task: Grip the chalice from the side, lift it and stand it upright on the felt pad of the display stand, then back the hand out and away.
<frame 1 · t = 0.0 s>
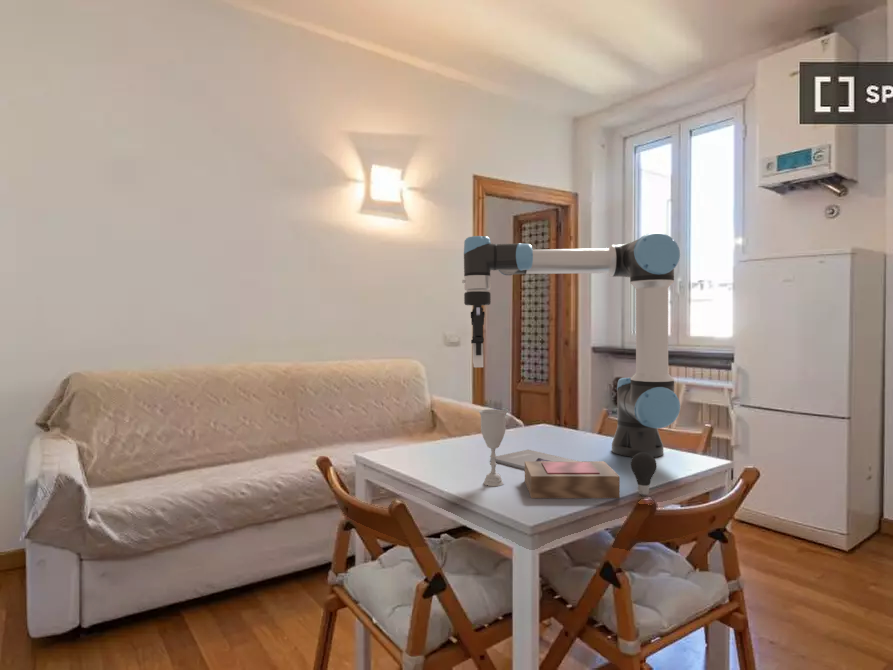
hand: (477, 365, 160), 28 cm above the table, tool pointing down, fingers open, 13 cm apart
display stand: (569, 489, 134), on the table
play button award: (535, 465, 160), on the table
light bulb: (643, 496, 129), on the table
chalice: (493, 484, 140), on the table
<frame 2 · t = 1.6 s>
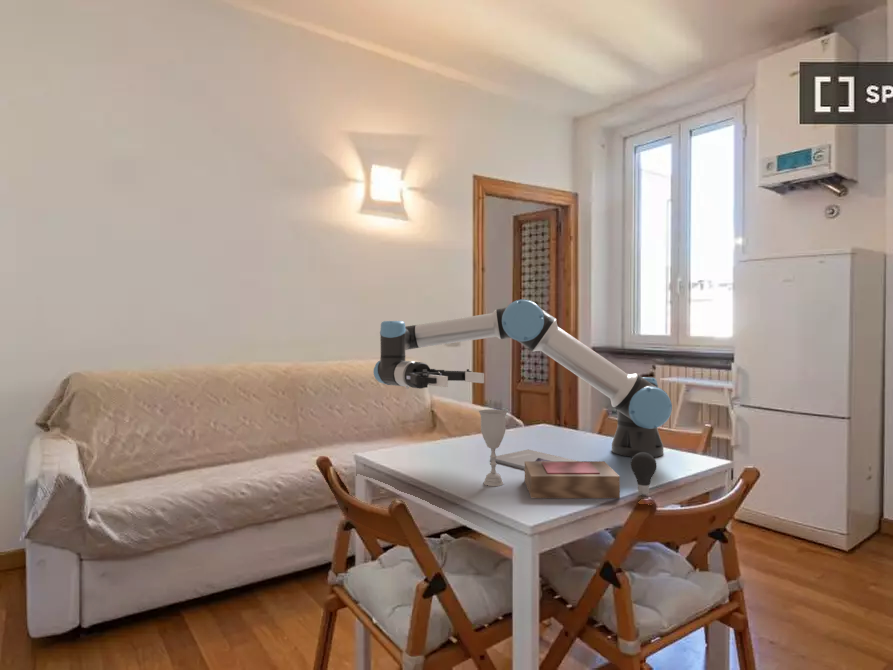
hand: (465, 379, 146), 25 cm above the table, tool horizontal, fingers open, 13 cm apart
nothing on the table moved.
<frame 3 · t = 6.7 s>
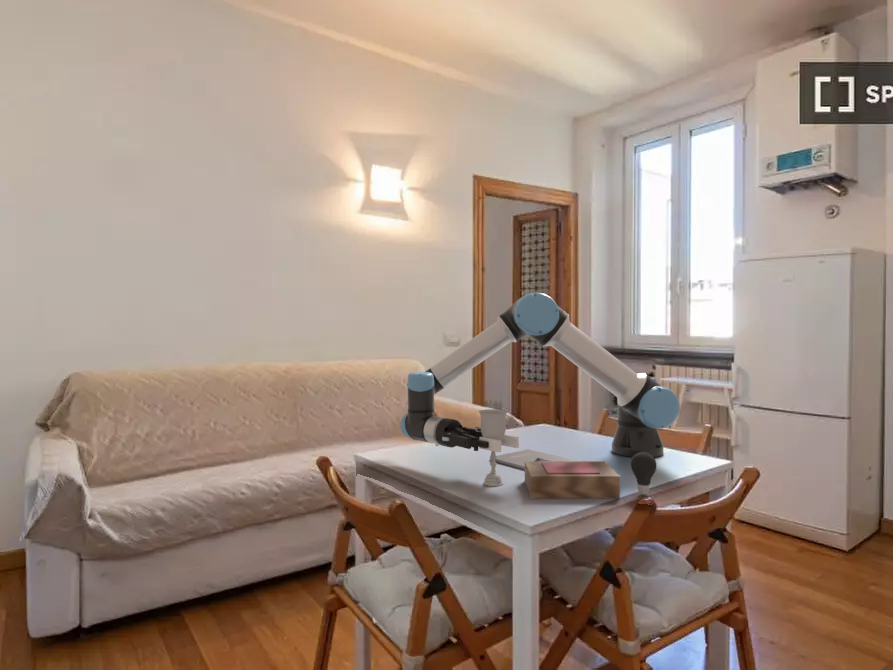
hand: (508, 444, 136), 11 cm above the table, tool horizontal, fingers closed on chalice, 6 cm apart
chalice: (493, 484, 140), on the table, touching gripper
everything else where it was.
when the fingers open (17 cm above the table, at t = 11.4 s): chalice drops 2 cm, resting on display stand.
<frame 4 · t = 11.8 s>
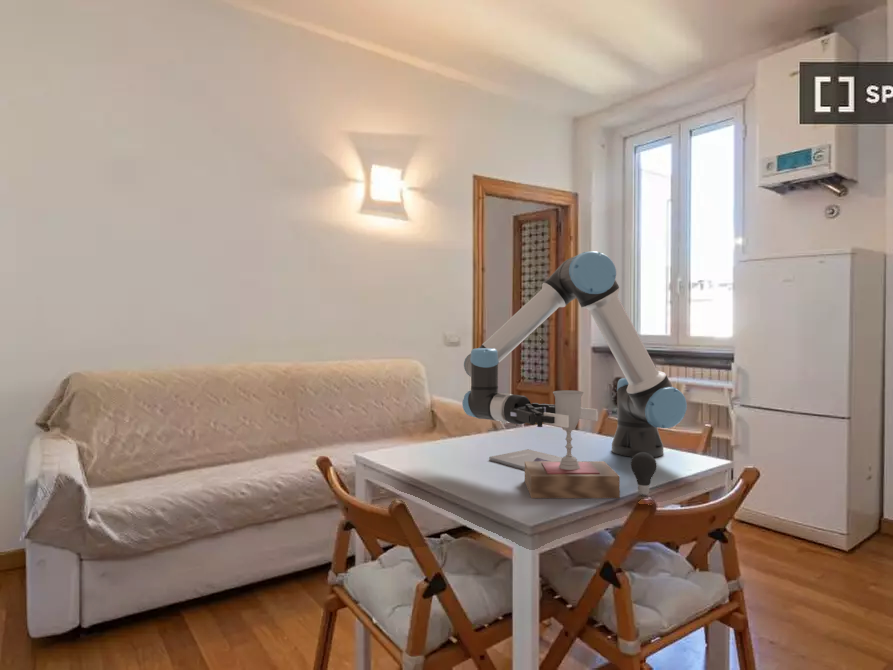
hand: (583, 418, 131), 17 cm above the table, tool horizontal, fingers open, 11 cm apart
chalice: (569, 467, 134), point 5 cm above the table, touching display stand
everything else where it was.
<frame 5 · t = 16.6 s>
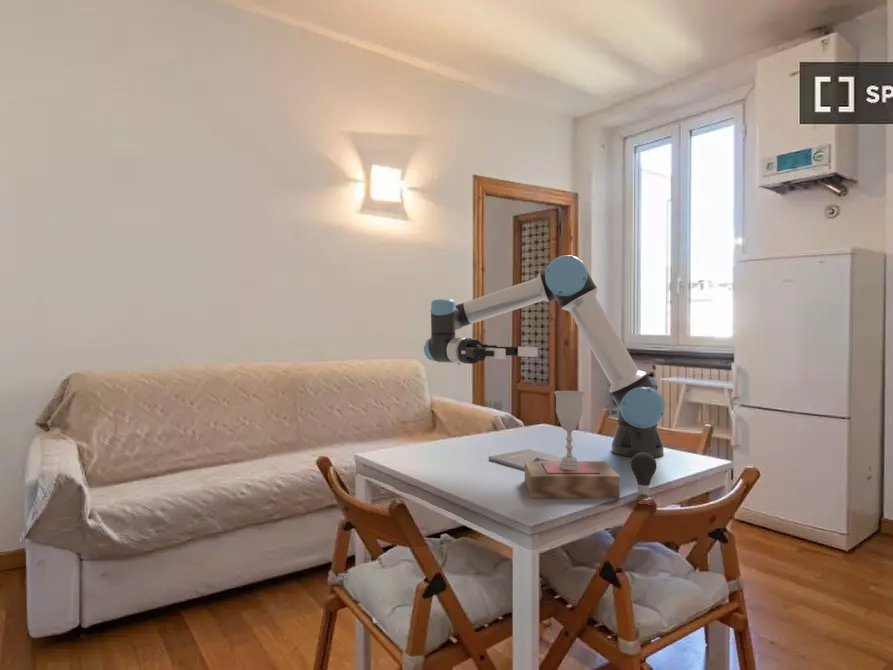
hand: (521, 352, 151), 32 cm above the table, tool horizontal, fingers open, 13 cm apart
nothing on the table moved.
at the end: chalice inside the target area on the display stand (0.1 cm from its centre), point 5.1 cm above the display stand's base; chalice tilted 0°; the gripper is holding nothing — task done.
